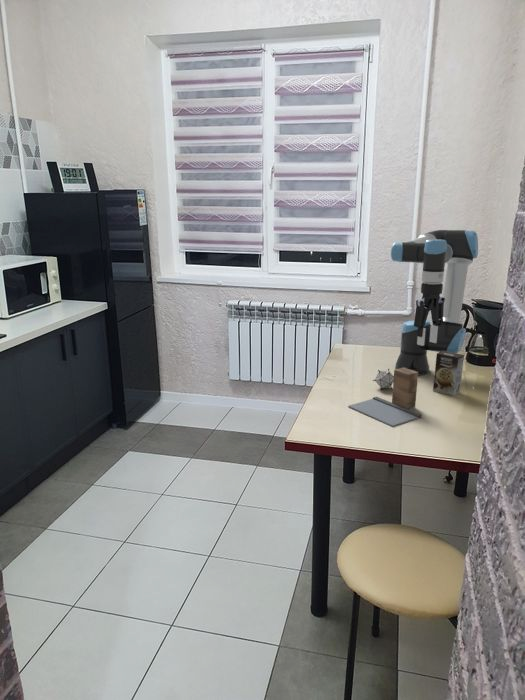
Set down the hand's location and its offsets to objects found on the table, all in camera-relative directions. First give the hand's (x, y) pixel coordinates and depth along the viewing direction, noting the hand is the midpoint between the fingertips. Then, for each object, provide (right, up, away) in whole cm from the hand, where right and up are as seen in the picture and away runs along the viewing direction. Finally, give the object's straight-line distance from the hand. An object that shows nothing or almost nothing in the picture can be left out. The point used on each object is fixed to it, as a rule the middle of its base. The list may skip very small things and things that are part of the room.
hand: (426, 343), depth 194 cm
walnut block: (-9, -24, 0) cm, 25 cm away
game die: (-11, -19, +20) cm, 29 cm away
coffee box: (+13, -20, +16) cm, 28 cm away
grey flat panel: (-17, -25, -5) cm, 31 cm away
